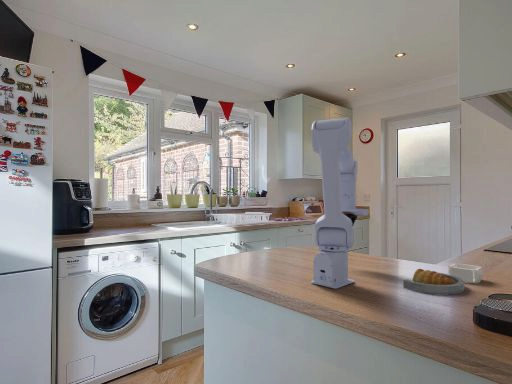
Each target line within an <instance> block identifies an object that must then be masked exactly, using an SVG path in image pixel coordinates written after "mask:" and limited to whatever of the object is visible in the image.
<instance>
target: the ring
mask: <svg viewBox="0 0 512 384" xmlns="http://www.w3.org/2000/svg"><path fill="white" fill-rule="evenodd" d="M436 272H437V271H436ZM437 273H440V274H442V275H444V276H446V277H448V278H450V279H452V280H453V281H454V282H455V284H451V285H433V284H424V283H419V282H414V281H413V280H411V279H410V280H409V279H408V278H407V279H403V281H402V283H403V284H402V286H403V287H404V288H403V289H406V288H407V290H409V289H410V291H412V290H413V292H417V291H418V293H421V292H422V294H428V293H429V294H430V295H436V294H444V295H443V296H446V295H445V294H448V295H447V296H450V295H449V294H453V295H459V294H461V293H462V294H463V293H464V292H465V283H464V281H463V280H462V279H461V278H458V277H455V276H452V275H449V273H448V274H447V273H443V272H437Z"/></svg>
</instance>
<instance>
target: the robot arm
mask: <svg viewBox="0 0 512 384" xmlns="http://www.w3.org/2000/svg"><path fill="white" fill-rule="evenodd" d="M310 133H311V135H310V136H311V144H312V151H313V153H317V154H318V155H319V160H320V167H321V169H320V170H321V182H322V196H323V198H322V199H323V210H324V211H323V212H324V214H322V215H321V216H320V217H318V218H317V220H316V221H315V223H314V238H313V239H314V244H315V245H316V247H317V248H318V249H319V250H320V251H319V253H317V254H316V255H315V256H314V258H313V279H312V280H311V281H310V283H311V284H314V285H317V286H318V285H319V286H323V287H326V288H330V289H339V288H342V287H344V286H348V285H349V284H352V283H355V281H356V280H354V279H350V278H349V250H352V248H353V247H354V241H355V232H354V231H355V230H354V226H355V225H354V224H355V222H356V220H357V219H358V216H369V214H370V211H369V209H368V208H357V207H356V206H357V198H356V197H357V190H356V189H357V187H356V186H357V183H356V182H357V179H358V178H357V175H358V161H357V160H355V158H354V156H353V152H352V149H351V148H350V147H349V146H350V145H351V140H352V138H353V124H352V120H351V118H350V117H348V116H347V117H341V118H334V119H324V120H322V119H321V120H317V119H315V120H314V121H313V122H312V124H311V132H310Z"/></svg>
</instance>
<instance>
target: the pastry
mask: <svg viewBox="0 0 512 384" xmlns="http://www.w3.org/2000/svg"><path fill="white" fill-rule="evenodd" d="M440 273H441V272H438V273H437V271H435V270H429V269H427V270H425V269H423V268H417V269H416V271H415V272H414V273H413V277H412V281H414V282H419V283H424V284H433V285H451V284H455V282H454V281H453V280H452V279H450V278H448V277H446V276H444V275H442V274H440Z"/></svg>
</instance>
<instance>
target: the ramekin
mask: <svg viewBox="0 0 512 384" xmlns="http://www.w3.org/2000/svg"><path fill="white" fill-rule="evenodd" d="M447 269H448V275H452V276H455V277H458V278H461V279H462V280H463V281H464V284H480V283H481V280H483V267H482V266H480V265H474V264H473V265H472V264H465V263H452V264H450V265H448V268H447Z"/></svg>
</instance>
